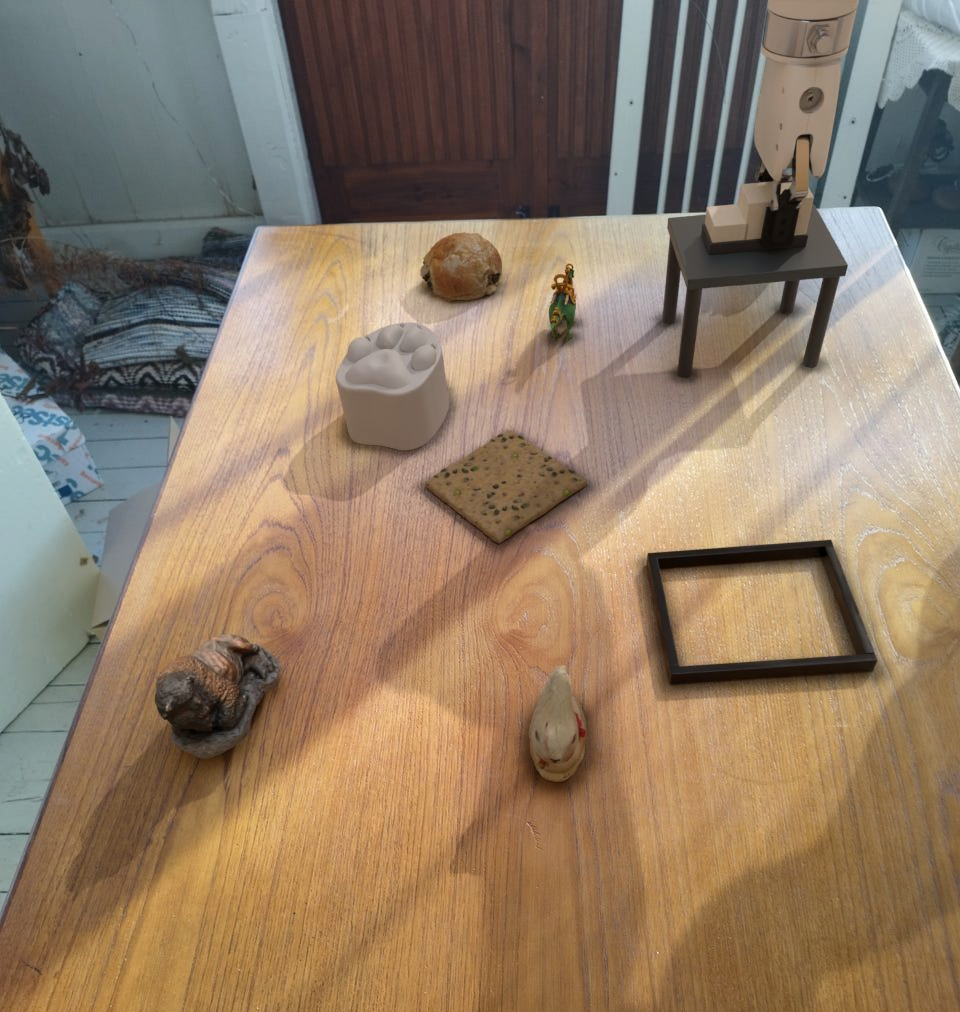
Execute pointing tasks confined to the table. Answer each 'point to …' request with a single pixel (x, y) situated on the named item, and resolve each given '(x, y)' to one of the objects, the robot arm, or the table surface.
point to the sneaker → (749, 221)
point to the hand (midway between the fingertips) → (769, 231)
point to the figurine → (563, 302)
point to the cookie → (504, 485)
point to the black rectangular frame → (769, 668)
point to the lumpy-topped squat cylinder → (394, 387)
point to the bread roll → (462, 267)
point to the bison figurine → (214, 693)
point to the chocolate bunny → (557, 729)
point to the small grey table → (749, 278)
